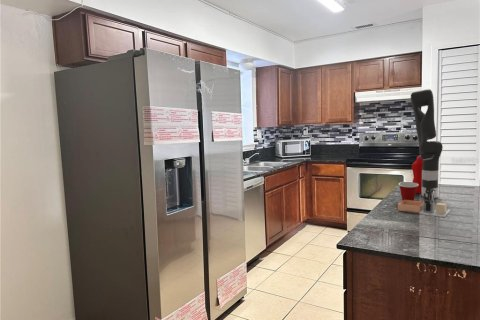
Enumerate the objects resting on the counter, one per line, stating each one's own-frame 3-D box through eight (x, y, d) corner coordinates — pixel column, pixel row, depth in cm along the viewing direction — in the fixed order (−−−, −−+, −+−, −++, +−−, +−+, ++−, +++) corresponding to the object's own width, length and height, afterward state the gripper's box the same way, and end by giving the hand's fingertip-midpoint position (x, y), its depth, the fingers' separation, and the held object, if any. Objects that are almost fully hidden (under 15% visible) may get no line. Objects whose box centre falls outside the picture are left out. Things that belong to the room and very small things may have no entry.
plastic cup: (397, 204, 196) (397, 184, 195) (398, 200, 206) (398, 181, 205) (418, 206, 191) (418, 185, 190) (418, 201, 201) (418, 182, 200)
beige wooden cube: (437, 211, 177) (437, 202, 176) (446, 212, 174) (446, 203, 174) (435, 213, 174) (435, 204, 173) (444, 214, 171) (444, 205, 171)
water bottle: (407, 191, 231) (407, 155, 228) (423, 190, 231) (423, 155, 228) (413, 194, 222) (414, 157, 219) (430, 193, 221) (431, 156, 219)
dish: (404, 206, 192) (404, 199, 191) (425, 209, 184) (425, 202, 184) (397, 210, 183) (397, 203, 182) (419, 213, 176) (419, 206, 175)
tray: (426, 208, 185) (426, 206, 185) (450, 211, 177) (450, 209, 177) (419, 214, 175) (419, 212, 175) (444, 217, 167) (444, 215, 167)
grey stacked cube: (425, 210, 181) (426, 201, 180) (434, 211, 178) (434, 202, 177) (423, 211, 178) (424, 202, 177) (432, 213, 175) (432, 203, 174)
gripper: (425, 176, 183) (424, 206, 185) (418, 179, 173) (417, 211, 175) (441, 177, 178) (440, 208, 180) (434, 181, 168) (433, 213, 170)
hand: (429, 209), depth 178 cm, fingers closed on grey stacked cube, 4 cm apart
